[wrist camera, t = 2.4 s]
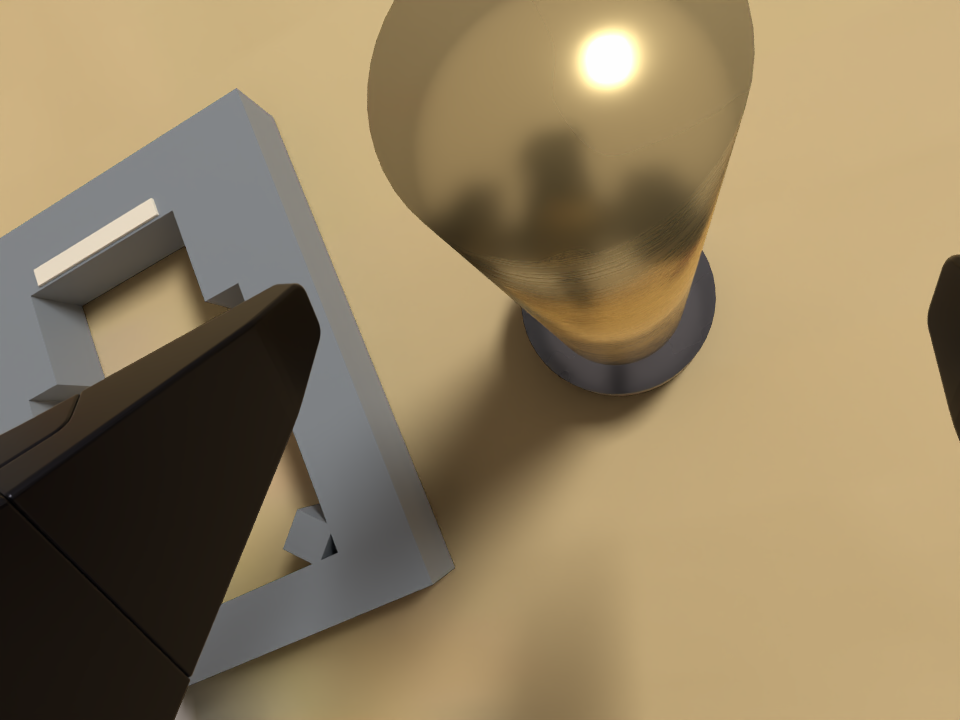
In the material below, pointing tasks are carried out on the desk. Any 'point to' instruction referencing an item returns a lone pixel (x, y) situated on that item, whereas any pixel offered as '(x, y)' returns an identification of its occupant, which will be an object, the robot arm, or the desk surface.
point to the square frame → (228, 282)
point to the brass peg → (571, 162)
